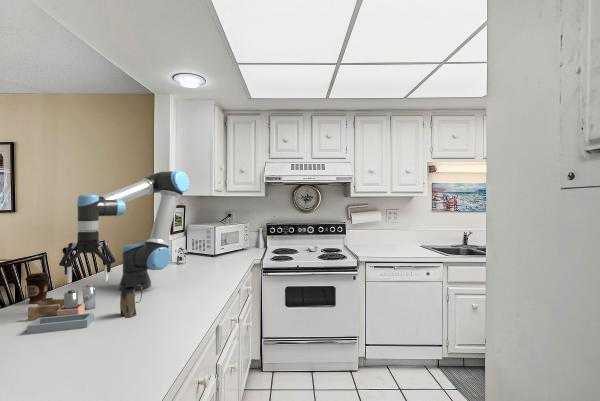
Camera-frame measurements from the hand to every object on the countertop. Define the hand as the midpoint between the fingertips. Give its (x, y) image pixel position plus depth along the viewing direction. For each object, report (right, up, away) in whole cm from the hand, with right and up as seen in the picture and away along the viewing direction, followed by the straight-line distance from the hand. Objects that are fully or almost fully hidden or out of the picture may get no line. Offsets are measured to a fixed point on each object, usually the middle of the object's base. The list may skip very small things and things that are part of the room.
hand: (88, 281), depth 138 cm
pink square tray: (+1, -12, -11) cm, 17 cm away
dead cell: (+1, -12, -11) cm, 16 cm away
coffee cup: (-31, -13, +12) cm, 35 cm away
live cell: (0, -12, 0) cm, 12 cm away
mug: (+22, -12, -7) cm, 26 cm away
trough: (+3, -12, -19) cm, 23 cm away
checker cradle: (-11, -12, -7) cm, 18 cm away
